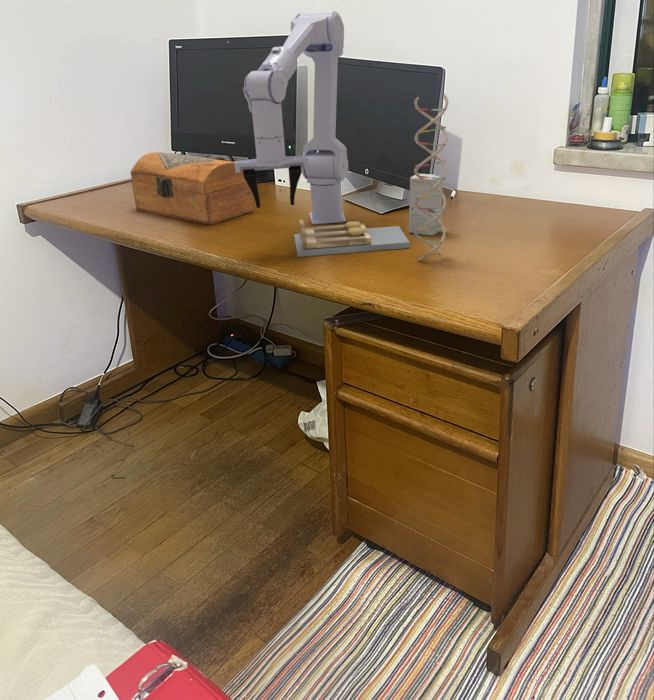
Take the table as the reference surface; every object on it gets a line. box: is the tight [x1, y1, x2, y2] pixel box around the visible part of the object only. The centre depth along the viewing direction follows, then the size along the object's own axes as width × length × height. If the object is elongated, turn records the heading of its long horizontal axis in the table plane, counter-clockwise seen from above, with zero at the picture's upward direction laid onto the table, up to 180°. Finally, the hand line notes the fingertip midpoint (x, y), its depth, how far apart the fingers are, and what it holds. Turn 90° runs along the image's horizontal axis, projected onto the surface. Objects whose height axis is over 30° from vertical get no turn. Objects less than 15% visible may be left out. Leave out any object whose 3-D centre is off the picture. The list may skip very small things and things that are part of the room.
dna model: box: [413, 93, 449, 262], centre depth 128 cm, size 7×6×30 cm
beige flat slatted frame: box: [299, 218, 371, 249], centre depth 144 cm, size 11×14×3 cm
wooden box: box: [130, 151, 255, 226], centre depth 174 cm, size 30×16×14 cm, turn 48°
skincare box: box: [408, 173, 444, 236], centre depth 147 cm, size 6×4×12 cm
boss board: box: [293, 220, 411, 258], centre depth 144 cm, size 12×23×4 cm, turn 95°
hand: (275, 205), depth 140 cm, fingers open, 6 cm apart
